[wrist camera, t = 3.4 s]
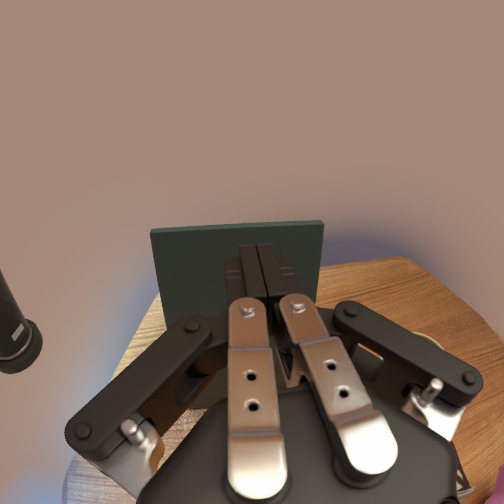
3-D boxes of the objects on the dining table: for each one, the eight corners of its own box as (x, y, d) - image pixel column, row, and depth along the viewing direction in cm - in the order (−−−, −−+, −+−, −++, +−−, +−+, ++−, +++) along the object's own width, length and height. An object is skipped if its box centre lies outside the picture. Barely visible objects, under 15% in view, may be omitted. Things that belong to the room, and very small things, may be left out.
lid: (151, 228, 24) (149, 232, 23) (321, 219, 26) (324, 223, 25) (177, 366, 31) (176, 371, 31) (305, 356, 33) (306, 361, 32)
